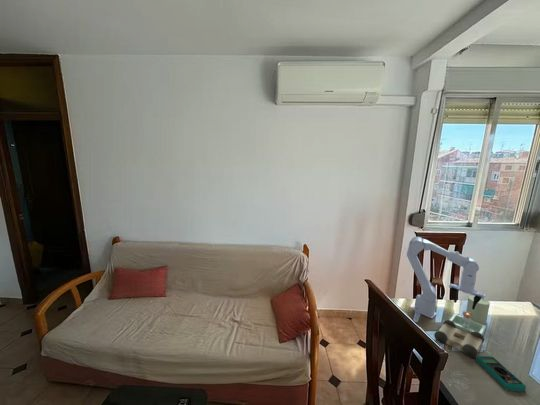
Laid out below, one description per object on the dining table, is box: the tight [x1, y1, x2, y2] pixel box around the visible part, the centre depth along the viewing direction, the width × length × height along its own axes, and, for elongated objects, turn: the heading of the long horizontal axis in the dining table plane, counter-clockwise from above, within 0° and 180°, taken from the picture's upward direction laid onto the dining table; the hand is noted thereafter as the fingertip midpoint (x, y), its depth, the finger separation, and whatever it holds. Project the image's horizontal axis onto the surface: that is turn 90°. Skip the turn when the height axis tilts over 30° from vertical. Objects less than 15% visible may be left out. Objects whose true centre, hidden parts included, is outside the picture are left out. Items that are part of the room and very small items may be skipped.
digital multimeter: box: [475, 355, 527, 392], centre depth 97 cm, size 7×15×3 cm, turn 178°
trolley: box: [433, 319, 485, 359], centre depth 114 cm, size 16×15×5 cm
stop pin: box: [462, 310, 473, 329], centre depth 122 cm, size 4×4×9 cm
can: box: [466, 294, 491, 325], centre depth 132 cm, size 9×9×12 cm
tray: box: [449, 313, 487, 336], centre depth 123 cm, size 13×11×4 cm
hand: (464, 305), depth 127 cm, fingers open, 7 cm apart
